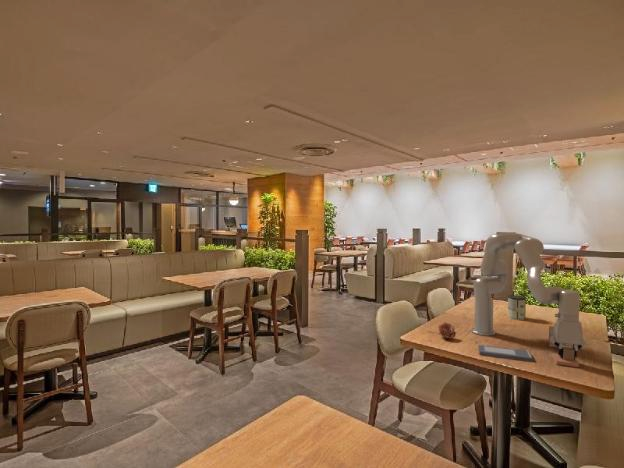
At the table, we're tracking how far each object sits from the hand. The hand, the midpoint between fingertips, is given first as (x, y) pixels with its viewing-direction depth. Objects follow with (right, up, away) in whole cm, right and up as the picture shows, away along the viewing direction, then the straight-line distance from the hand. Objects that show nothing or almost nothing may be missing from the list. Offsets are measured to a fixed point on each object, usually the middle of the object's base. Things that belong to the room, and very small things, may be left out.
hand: (567, 357), depth 162 cm
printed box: (+9, -2, +20) cm, 22 cm away
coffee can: (+19, 0, +73) cm, 76 cm away
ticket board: (-23, -2, +10) cm, 25 cm away
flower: (-42, -1, +32) cm, 53 cm away
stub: (-1, -2, 0) cm, 3 cm away
